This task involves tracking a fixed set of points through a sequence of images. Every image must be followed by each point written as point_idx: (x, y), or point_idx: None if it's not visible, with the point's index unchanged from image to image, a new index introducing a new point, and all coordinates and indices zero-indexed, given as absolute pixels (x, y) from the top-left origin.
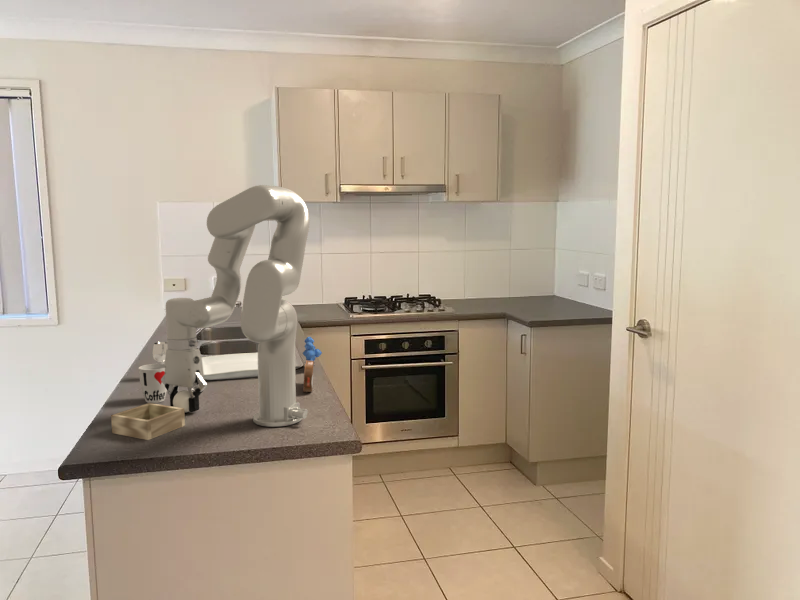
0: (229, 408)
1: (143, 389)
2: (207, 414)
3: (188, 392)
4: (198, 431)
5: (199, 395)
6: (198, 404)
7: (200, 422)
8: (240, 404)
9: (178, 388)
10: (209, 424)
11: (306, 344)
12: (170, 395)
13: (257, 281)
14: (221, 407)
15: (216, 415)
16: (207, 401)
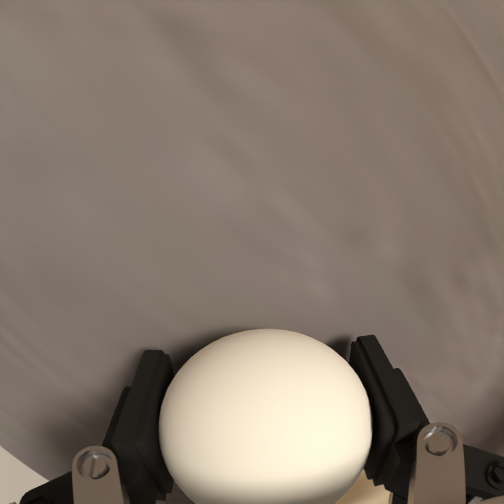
0: (496, 134)
1: None
2: (441, 319)
3: (330, 499)
4: (481, 443)
5: (445, 433)
6: (404, 384)
7: (458, 407)
8: (487, 19)
9: (123, 495)
10: (498, 395)
11: None
12: (156, 497)
13: None
14: (439, 131)
15: (493, 301)
16: (173, 33)
